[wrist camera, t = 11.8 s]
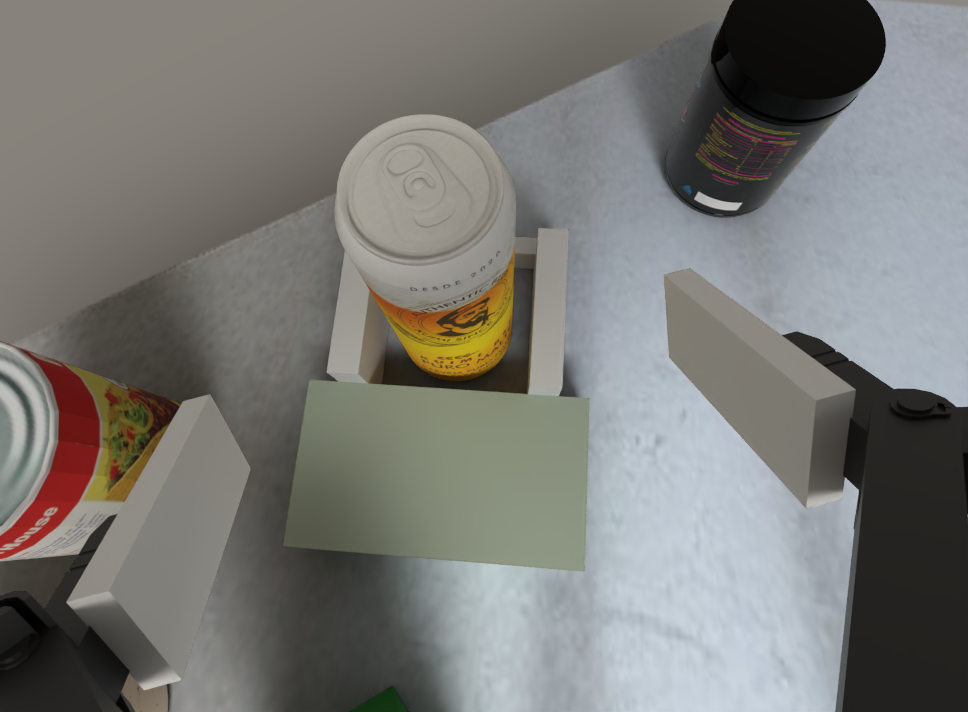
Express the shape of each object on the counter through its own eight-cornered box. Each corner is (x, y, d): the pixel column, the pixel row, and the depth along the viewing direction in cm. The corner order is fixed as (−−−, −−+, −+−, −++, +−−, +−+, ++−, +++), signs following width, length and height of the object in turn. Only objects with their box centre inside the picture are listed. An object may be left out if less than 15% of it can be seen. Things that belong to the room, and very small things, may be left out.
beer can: (436, 404, 31) (376, 309, 17) (386, 313, 33) (293, 156, 19) (532, 351, 32) (553, 215, 18) (478, 264, 34) (458, 73, 19)
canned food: (181, 372, 32) (1, 294, 21) (248, 489, 31) (91, 473, 19) (54, 454, 32) (-208, 419, 20) (115, 579, 30) (-135, 621, 18)
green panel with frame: (586, 256, 33) (600, 212, 29) (576, 565, 29) (590, 576, 24) (349, 243, 34) (323, 199, 29) (304, 543, 30) (265, 548, 25)
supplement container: (779, 133, 35) (888, -20, 25) (771, 232, 33) (885, 110, 23) (667, 117, 36) (730, -38, 26) (654, 214, 34) (716, 87, 24)
